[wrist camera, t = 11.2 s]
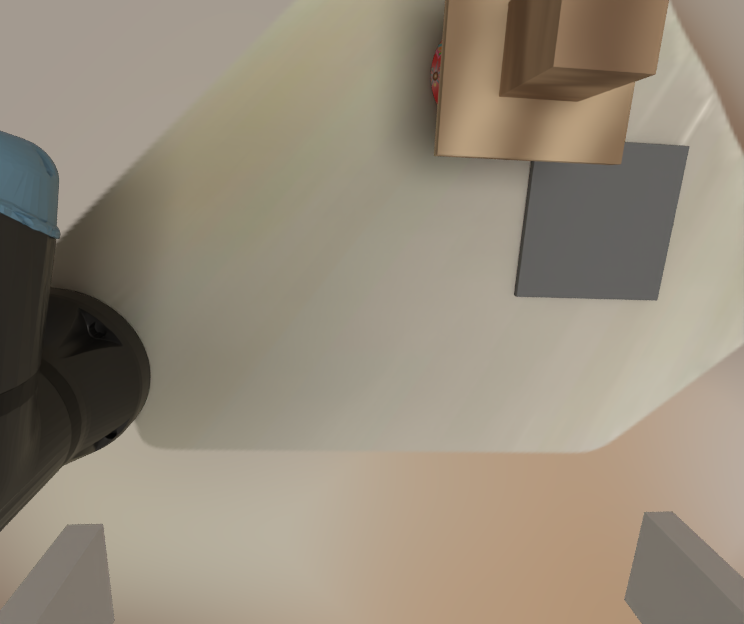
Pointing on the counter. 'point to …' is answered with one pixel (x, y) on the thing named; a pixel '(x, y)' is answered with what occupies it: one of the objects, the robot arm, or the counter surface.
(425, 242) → the counter surface
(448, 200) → the counter surface
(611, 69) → the lid
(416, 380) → the counter surface
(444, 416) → the counter surface
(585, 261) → the mat
